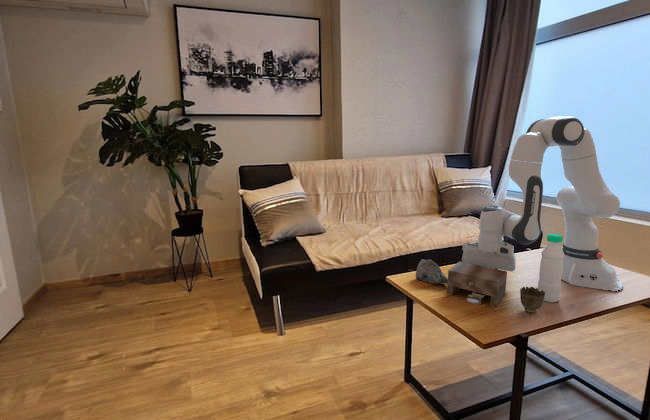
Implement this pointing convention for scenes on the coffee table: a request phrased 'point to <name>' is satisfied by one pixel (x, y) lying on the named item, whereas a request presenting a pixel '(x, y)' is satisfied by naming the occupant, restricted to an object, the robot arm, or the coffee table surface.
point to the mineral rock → (430, 272)
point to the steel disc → (473, 299)
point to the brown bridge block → (478, 281)
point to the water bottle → (551, 268)
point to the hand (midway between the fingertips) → (486, 276)
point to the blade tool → (478, 293)
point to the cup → (531, 299)
